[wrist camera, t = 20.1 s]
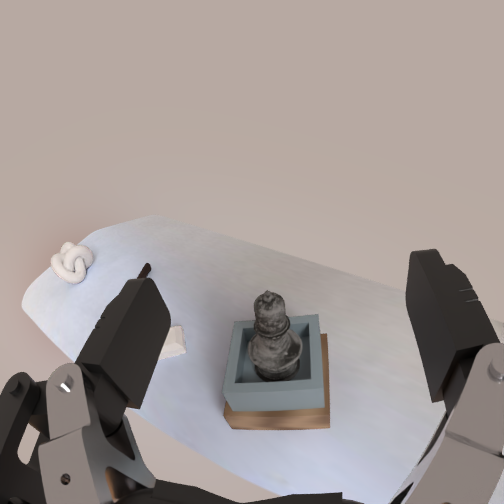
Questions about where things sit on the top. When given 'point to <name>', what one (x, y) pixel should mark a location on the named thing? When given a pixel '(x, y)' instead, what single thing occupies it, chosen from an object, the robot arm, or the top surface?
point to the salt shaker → (274, 341)
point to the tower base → (286, 418)
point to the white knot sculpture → (72, 262)
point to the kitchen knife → (144, 271)
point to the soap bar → (173, 343)
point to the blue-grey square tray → (275, 393)
